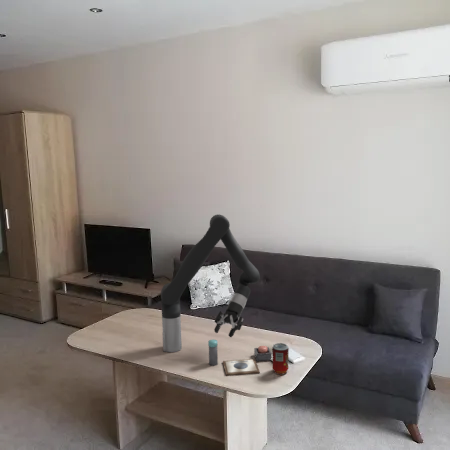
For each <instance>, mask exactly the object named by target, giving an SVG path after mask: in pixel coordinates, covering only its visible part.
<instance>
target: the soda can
mask: <svg viewBox="0 0 450 450" xmlns="http://www.w3.org/2000/svg"><path fill="white" fill-rule="evenodd" d="M289 349H290V348H289V346H288V345H287V344H286V343H282V342H279V343H278V342H277V343H275V344H273V345H272V370H273V372H274V374H277V375H285V374H287V372H288V370H289Z"/></svg>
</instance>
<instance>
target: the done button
mask: <svg viewBox="0 0 450 450" xmlns="http://www.w3.org/2000/svg"><path fill="white" fill-rule="evenodd" d="M267 347H268V346H266V345H260V346H259V345H258V346H257V348H258V353H267Z"/></svg>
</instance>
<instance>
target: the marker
mask: <svg viewBox="0 0 450 450" xmlns="http://www.w3.org/2000/svg"><path fill="white" fill-rule="evenodd" d="M207 343H208V365H209V366H212V367H214V366H218V364H219V362H218V360H219V358H218V340H217V339H208V342H207Z"/></svg>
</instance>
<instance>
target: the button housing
mask: <svg viewBox="0 0 450 450" xmlns="http://www.w3.org/2000/svg"><path fill="white" fill-rule="evenodd" d="M266 347H267V353H258V347H254V349H253V350H254V351H253V353H254V359H255V361H256V362H264V361H265V362H267V361H268V362H269V361H271V360H270V359H271V358H272V359H273V352H272V351H271V349H270V347H269V346H266Z"/></svg>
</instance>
